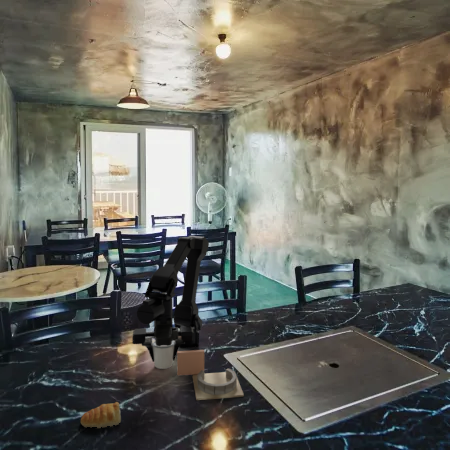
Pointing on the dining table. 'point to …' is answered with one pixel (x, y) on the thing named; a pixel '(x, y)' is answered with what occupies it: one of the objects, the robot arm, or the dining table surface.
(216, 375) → the dock
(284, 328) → the dining table surface
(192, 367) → the block
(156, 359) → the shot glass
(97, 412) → the pastry
